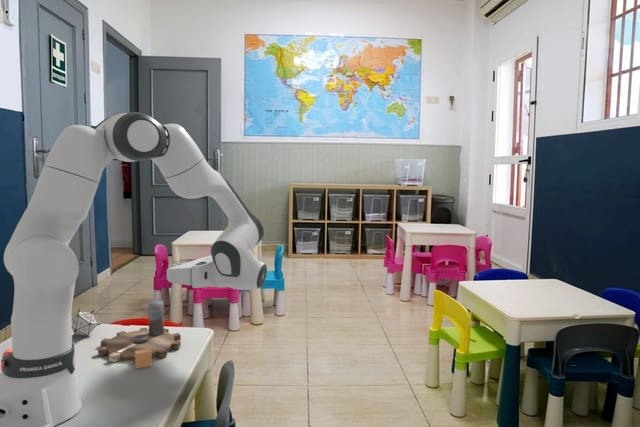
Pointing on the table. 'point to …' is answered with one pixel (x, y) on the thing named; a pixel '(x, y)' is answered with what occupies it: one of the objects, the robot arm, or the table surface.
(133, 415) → the table surface
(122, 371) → the table surface
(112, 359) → the sprocket
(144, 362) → the orange wooden block
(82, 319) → the game die
